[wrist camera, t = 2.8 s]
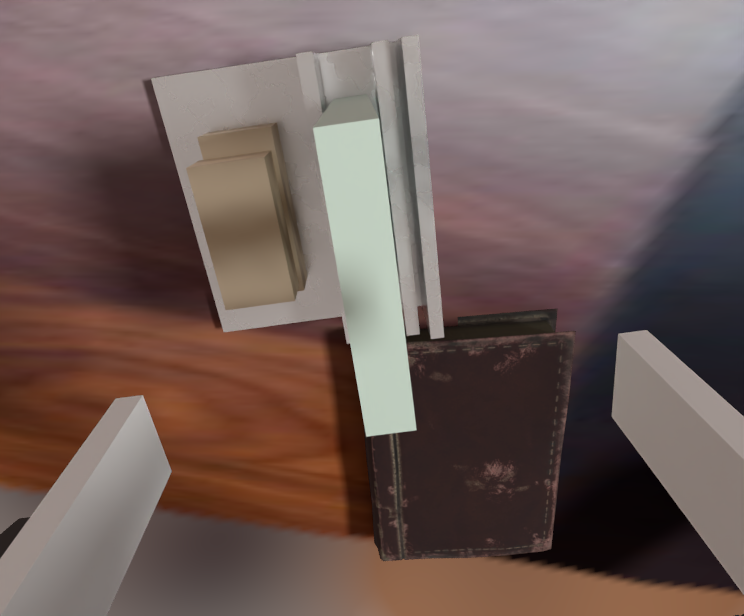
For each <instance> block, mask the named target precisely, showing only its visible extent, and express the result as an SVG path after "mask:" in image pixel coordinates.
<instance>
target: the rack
mask: <svg viewBox="0 0 744 616" xmlns="http://www.w3.org/2000/svg"><path fill="white" fill-rule="evenodd" d="M151 81H152V84H153V88H154V91H155V95H156V98H157V101H158V105H159V108H160V112H161V115H162V119H163V122H164V126H165V129H166V133H167V136H168V140H169V143H170V147H171V150H172V154H173V157H174V161H175V164H176V168H177V171H178V175H179V178H180V182H181V185H182V189H183V192H184V196H185V199H186V203H187V206H188V209H189V213H190V216H191V220H192V223H193V227H194V230H195V234H196V237H197V241H198V244H199V248H200V251H201V255H202V258H203V262H204V265H205V269H206V272H207V276H208V279H209V283H210V286H211V290H212V293H213V297H214V300H215V304H216V307H217V311H218V314H219V317H220V321H221V324H222V328H223V331H224V332H229V331H236V330H244V329H251V328H259V327H266V326H274V325H281V324H288V323H296V322H303V321H311V320H318V319H326V318H333V317H341V316H342V319H343V325H344V331H345V336H346V342H347V344H350V340H349V334H348V328H347V322H346V317H345V311H344V305H343V299H342V293H341V288H340V282H339V276H338V270H337V265H336V259H335V253H334V247H333V241H332V236H331V230H330V224H329V218H328V213H327V207H326V201H325V195H324V189H323V184H322V178H321V172H320V166H319V160H318V155H317V149H316V143H315V137H314V132H313V127H314V126H315V124H316V123H317V121H318V120H319V119H320V117H321V116H322V114H323V113H324V112H325V110H326V109H327V107H328V106H329V105H330V103H331V102H332V100H333V99H337V98H344V97H350V96H357V95H364V94H367V95H368V97H369V99H370V101H371V103H372V105H373V107H374V109H375V111H376V113H377V116H378V118H379V124H380V132H381V140H382V148H383V157H384V165H385V173H386V181H387V190H388V198H389V206H390V214H391V223H392V231H393V239H394V247H395V256H396V264H397V272H398V280H399V289H400V297H401V305H402V314H403V319H404V324H405V329H406V334H407V336H410V335H417V334H420V330H419V321H418V311H417V306H422V310H423V313H424V317H425V320H426V324H427V327H428V331H429V334H430V338H431V339H436V338H444V328H443V316H442V304H441V292H440V281H439V269H438V257H437V246H436V234H435V222H434V210H433V199H432V187H431V175H430V163H429V152H428V140H427V128H426V116H425V105H424V93H423V81H422V69H421V58H420V46H419V35H414V36H407V37H401V38H400V39H398V40H397V41H395V42H392V43H389V41H388V40H385V41H378V42H372V43H371V44H370V46H366V47H359V48H352V49H345V50H339V51H332V52H325V53H319V54H317V53H315V52H313V51H311V52H304V53H298V54H296V57H292V58H285V59H278V60H272V61H265V62H258V63H251V64H245V65H238V66H231V67H225V68H218V69H211V70H204V71H198V72H191V73H184V74H178V75H171V76H164V77H157V78H151ZM276 122H277V126H278V131H279V136H280V141H281V146H282V151H283V156H284V161H285V166H286V171H287V176H288V181H289V186H290V191H291V196H292V201H293V206H294V211H295V216H296V221H297V226H298V231H299V236H300V241H301V246H302V251H303V256H304V261H305V266H306V271H307V281H306V285H305V290H304V291H297V295H296V299H295V301H291V302H284V303H277V304H269V305H262V306H254V307H247V308H240V309H232V310H225V306H224V302H223V299H222V295H221V292H220V288H219V285H218V281H217V277H216V274H215V270H214V267H213V263H212V260H211V256H210V252H209V249H208V245H207V242H206V238H205V234H204V231H203V227H202V224H201V220H200V217H199V213H198V209H197V206H196V202H195V199H194V195H193V192H192V188H191V184H190V181H189V177H188V174H187V170H186V168H187V167H189V166H191V165H192V164H194V163H196V162H197V161H200V160H203V157H202V153H201V150H200V146H199V142H198V138H197V137H199V136H201V135H204V134H206V133H208V132H214V131H221V130H228V129H235V128H242V127H249V126H256V125H262V124H269V123H276Z"/></svg>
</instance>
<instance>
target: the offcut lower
mask: <svg viewBox="0 0 744 616" xmlns="http://www.w3.org/2000/svg"><path fill="white" fill-rule="evenodd" d="M197 138H198V142H199V146H200V150H201V153H202V157H203V160H207V159H214V158H221V157H228V156H235V155H242V154H249V153H255V152H262V151H269V150H271V153H272V157H273V162H274V167H275V172H276V176H277V181H278V186H279V191H280V196H281V200H282V205H283V210H284V215H285V220H286V224H287V229H288V234H289V239H290V244H291V248H292V253H293V258H294V263H295V267H296V272H297V277H298V282H299V288H298V291H304V290H305V285H306V281H307V271H306V266H305V261H304V256H303V251H302V246H301V241H300V236H299V231H298V226H297V221H296V216H295V211H294V206H293V201H292V196H291V191H290V186H289V181H288V176H287V171H286V166H285V161H284V156H283V151H282V146H281V141H280V136H279V131H278V126H277V122H276V123H269V124H262V125H256V126H249V127H242V128H235V129H228V130H221V131H214V132H208V133H206V134H204V135H201V136H199V137H197Z"/></svg>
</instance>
